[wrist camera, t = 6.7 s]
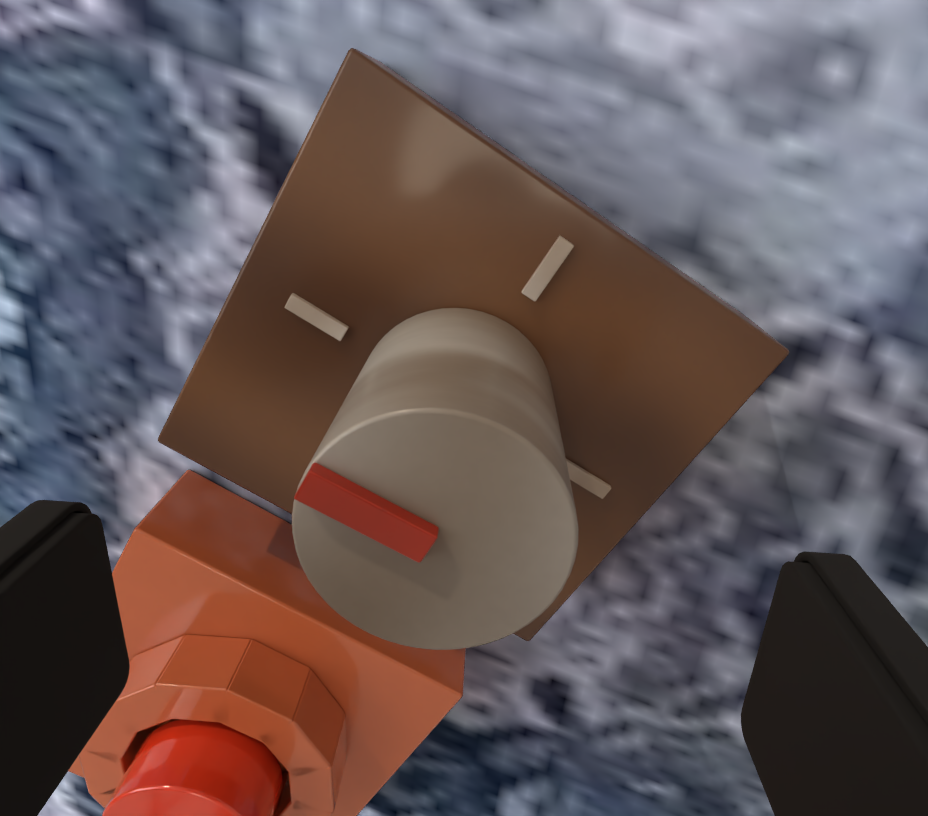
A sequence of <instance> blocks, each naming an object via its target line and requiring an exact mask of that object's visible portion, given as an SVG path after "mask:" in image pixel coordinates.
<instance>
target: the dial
mask: <svg viewBox="0 0 928 816" xmlns="http://www.w3.org/2000/svg"><path fill="white" fill-rule="evenodd" d="M292 533H293V539H294V544H295V549H296V552H297V555H298V558H299V561H300V564H301V566H302V568H303V570H304V572H305V574H306V576H307V578H308V580H309V581H310V583H311V584H312V586H313V587H314V589H315V590H316V591H317V593H318V594H319V595H320V596H321V597H322V598H323V599H324V601H325V602H326V603H327V604H328V605H329V606H330V607H331V608H333V609H334V610H335V611H336V612H337V613H338V614H339V615H340V616H342V617H343V618H345V619H346V620H348V621H349V622H350V623H352V624H353V625H355V626H357V627H359V628H360V629H362V630H364V631H366V632H368V633H370V634H372V635H374V636H377V637H379V638H381V639H384V640H387V641H390V642H393V643H397V644H400V645H405V646H410V647H415V648H422V649H432V650H453V649H462V648H470V647H475V646H479V645H484V644H487V643H490V642H493V641H497V640H500V639H502V638H504V637H506V636H509V635H511V634H513V633H515V632H517V631H518V630H520V629H522V628H523V627H525V626H527V625H528V624H530V623H531V622H532V621H534V620H535V619H536V618H537V617H539V616H540V615H541V614H542V613H543V612H544V611H545V610H546V609H547V608H548V607H549V606H550V605H551V604H552V603H553V602H554V600H555V599H556V597H557V596H558V595H559V593H560V592H561V590H562V589H563V587H564V585H565V583H566V581H567V579H568V578H569V576H570V573H571V571H572V568H573V565H574V562H575V559H576V553H577V547H578V521H577V514H576V508H575V503H574V498H573V493H572V488H571V482H570V477H569V472H568V467H567V462H566V457H565V452H564V447H563V442H562V437H561V432H560V426H559V421H558V416H557V411H556V406H555V401H554V396H553V391H552V386H551V381H550V377H549V374H548V371H547V368H546V366H545V364H544V362H543V359H542V358H541V356H540V354H539V353H538V351H537V350H536V348H535V347H534V346H533V345H532V343H531V342H530V341H529V340H528V339H527V338H526V337H525V336H524V335H523V334H522V333H521V332H520V331H519V330H517V329H516V328H514V327H513V326H512V325H510V324H509V323H507V322H505V321H503V320H501V319H499V318H498V317H496V316H493V315H490V314H487V313H485V312H481V311H477V310H472V309H465V308H442V309H436V310H430V311H427V312H423V313H420V314H417V315H415V316H413V317H411V318H408V319H406V320H404V321H403V322H401V323H400V324H398V325H397V326H395V327H394V328H393V329H391V330H390V331H389V332H388V333H387V334H386V335H385V336H384V337H383V338H382V339H381V340H380V341H379V342H378V344H377V345H376V346H375V348H374V349H373V351H372V352H371V354H370V356H369V358H368V359H367V361H366V363H365V365H364V366H363V368H362V370H361V372H360V374H359V375H358V377H357V379H356V381H355V383H354V384H353V386H352V388H351V390H350V391H349V393H348V395H347V397H346V399H345V400H344V402H343V404H342V406H341V408H340V409H339V411H338V413H337V415H336V416H335V418H334V420H333V422H332V424H331V425H330V427H329V429H328V431H327V433H326V434H325V436H324V438H323V440H322V442H321V443H320V445H319V447H318V449H317V450H316V452H315V454H314V456H313V458H312V459H311V461H310V463H309V465H308V467H307V468H306V470H305V472H304V474H303V476H302V479H301V481H300V483H299V485H298V488H297V491H296V494H295V496H294V503H293V511H292Z"/></svg>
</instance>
